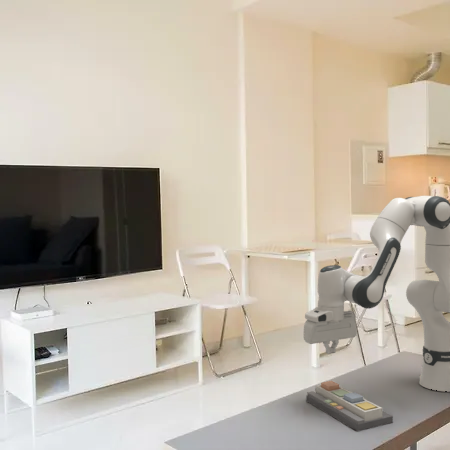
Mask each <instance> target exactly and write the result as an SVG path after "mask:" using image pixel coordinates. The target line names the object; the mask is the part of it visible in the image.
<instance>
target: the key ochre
mask: <svg viewBox="0 0 450 450" xmlns="http://www.w3.org/2000/svg"><path fill="white" fill-rule="evenodd" d="M356 406H357V407H359V408H361V409H363V410H365V411H366V410H370V409H375V408H376V406H374V405H372V404H370V403H368V402H365V403H360V404H356Z"/></svg>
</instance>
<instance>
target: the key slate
mask: <svg viewBox="0 0 450 450" xmlns="http://www.w3.org/2000/svg"><path fill="white" fill-rule="evenodd" d="M363 398H364V396H363V395H361V394H359V393H357V392H355V391H353V392H352V393H348V394H344V400H346V401H348V402H350V403H352V404H353V403H358V402H362V401H363Z"/></svg>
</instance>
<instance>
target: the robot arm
mask: <svg viewBox="0 0 450 450" xmlns="http://www.w3.org/2000/svg"><path fill="white" fill-rule="evenodd" d="M410 226H415V227H423V228H424V230H425V238H424V239H425V242H424V243H425V244H424V247H425V250H424V252H425V253H424V263H425V266H426V267H427V268H428V269H429V270H430V271H432V272H434V273H435V275H436V276H437V278H438V281H436V280H431V279H418V280H417V279H416V280H412V281H411V282H409V284H408V285H407V288H406V292H405V297H406V299H407V301H408V302H407V303H409V304H410V305H411V307H413V308H414V309H415V310H416V313H418V315H419V317H420V320H421V322H422V323H421V324H422V326H423V346H422V356H423V357H422V363H421V371H420V374H419V382H418V384H419V385H420V386H422V387H424V388H426V389H429V390H431V389H432V391H436V390H437V392H445V391H447V392H448V393H450V321H449V320H447V319H446V317H445V316H444V314H443V313H450V201H449V200H448V199H447V198H445V197H442V196H440V195H439V196H438V195H434V196H432V195H418V196H408V197H406V198H405V197H404V198H403V197H395V198H393V199H391V200H390V201H389V202H388V203H387V204H386V205H385V207H384V208H383V209H382V211H381V212H380V213H379V215H378V216H377V218H376V219H375V220H374V222H373V224H372V225H371V228H370V232H369V236H370V241H371V243H373V245H374V246H375V247H376V248H377V249H378V255H377V257H376V259H375V262H374V263H373V266H372V268H371V270H370V272H369V273H368V274H367V275H365V276H363V275H360V274H355V273H353V272H351V271H348V270H346V269H344V268H343V267H342V266H341V265H338V264H337V265H336V264H333V265H327V266H324V267H322V268H321V269H320V270H319V272H318V278H317V294H318V300H317V306H316V307H314V308H313V309H311V310H309V311H307V312H306V313H305V314H304V318H305V322H304V324H303V340H304V342H305V343H307V344H310V345H313V344H320V343H322V344H323V346H324V347H325V353H326V354H327V355H329V354H330V355H331V354H335V353H336V352H337V350H336V349H337V347H338V345H339V341H340V340H347V339H352V338H356V336H357V334H358V332H357V331H358V330H357V322H356V321H357V320H356V313H354V312H353V310H347V311H345V302H347V301H348V302H349V303H353V304H355V305H357V306H360V307H362V308H364V309H369V310H370V309H373V308H375V307H377V306H378V305H380V303H381V302H382V300H383V298H384V295H385V288H386V286H387V283H388V281H389V279H390V276H391V273H392V272H393V269H394V267H395V265H396V263H397V261H398V258H399V257H400V256H399V255H400V253H401V249H402V248H401V247H402V246H401V243H402V240H403V238H405V237H404V236H405V235H406V233H407V231H408V230H409V228H410ZM331 342H332V343H331ZM330 345H331V346H330ZM447 392H446V393H447Z"/></svg>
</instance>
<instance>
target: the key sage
mask: <svg viewBox="0 0 450 450" xmlns="http://www.w3.org/2000/svg"><path fill="white" fill-rule="evenodd" d="M332 393H333V394H335V395H337V396H338V397H344V394H348V392H346V391H344V390H338V391H333V392H332Z"/></svg>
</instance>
